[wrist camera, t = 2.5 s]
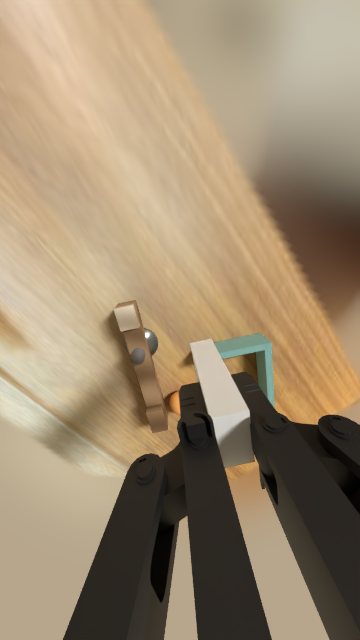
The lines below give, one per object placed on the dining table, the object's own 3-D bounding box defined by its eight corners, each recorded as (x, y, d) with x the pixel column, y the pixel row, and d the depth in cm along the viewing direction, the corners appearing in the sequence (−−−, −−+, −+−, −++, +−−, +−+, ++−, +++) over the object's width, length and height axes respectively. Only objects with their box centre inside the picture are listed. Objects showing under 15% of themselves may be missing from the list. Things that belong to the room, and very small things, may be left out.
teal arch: (195, 346, 32) (198, 357, 28) (260, 332, 32) (271, 342, 28) (207, 410, 36) (211, 426, 33) (264, 398, 36) (274, 413, 33)
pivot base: (121, 331, 30) (120, 332, 30) (153, 324, 30) (153, 325, 30) (130, 360, 32) (129, 361, 31) (161, 353, 32) (161, 355, 31)
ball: (167, 388, 34) (167, 404, 31) (188, 384, 34) (190, 399, 31) (171, 405, 35) (172, 421, 32) (191, 401, 35) (194, 417, 32)
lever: (119, 302, 28) (112, 310, 24) (136, 298, 28) (132, 306, 24) (153, 413, 34) (152, 433, 31) (167, 410, 34) (167, 430, 31)
